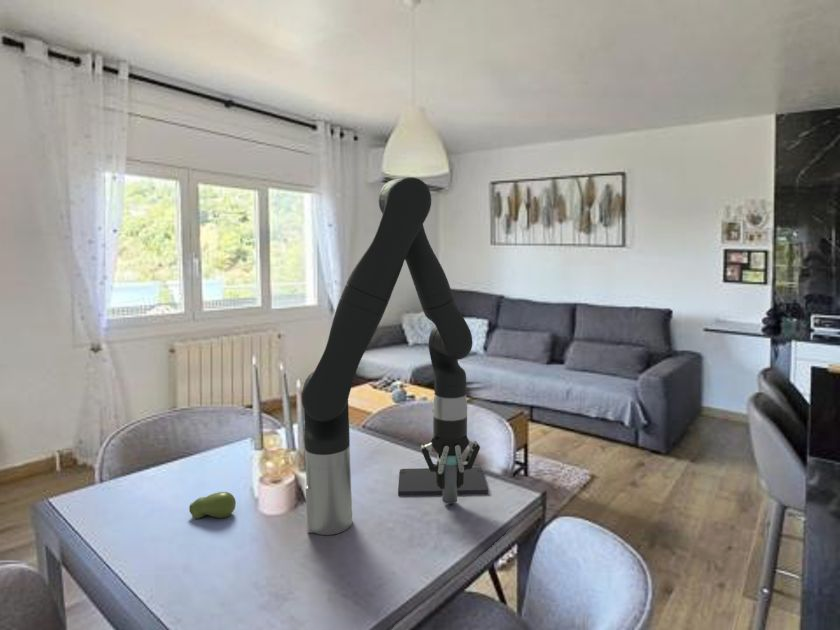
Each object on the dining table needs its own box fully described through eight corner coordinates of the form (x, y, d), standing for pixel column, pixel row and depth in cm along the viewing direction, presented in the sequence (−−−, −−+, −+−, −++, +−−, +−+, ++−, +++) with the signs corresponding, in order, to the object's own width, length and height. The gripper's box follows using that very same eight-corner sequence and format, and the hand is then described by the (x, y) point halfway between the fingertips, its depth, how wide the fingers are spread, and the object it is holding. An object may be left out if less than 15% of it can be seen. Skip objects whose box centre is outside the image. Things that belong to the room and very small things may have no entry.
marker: (443, 504, 117) (443, 457, 116) (440, 496, 121) (440, 451, 119) (459, 503, 118) (459, 456, 116) (455, 495, 121) (456, 450, 120)
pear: (225, 498, 112) (182, 504, 113) (230, 521, 113) (187, 526, 114) (236, 486, 117) (195, 491, 119) (242, 508, 118) (200, 513, 119)
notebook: (397, 497, 124) (488, 495, 124) (397, 491, 124) (488, 489, 124) (399, 474, 136) (481, 472, 136) (399, 468, 136) (481, 467, 136)
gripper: (421, 420, 112) (421, 497, 114) (485, 417, 114) (484, 492, 116) (416, 410, 119) (416, 481, 121) (476, 406, 121) (475, 477, 124)
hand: (449, 486), depth 119 cm, fingers closed on marker, 3 cm apart
